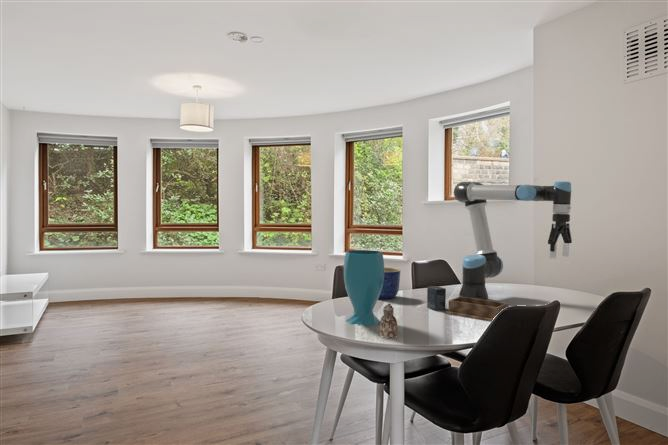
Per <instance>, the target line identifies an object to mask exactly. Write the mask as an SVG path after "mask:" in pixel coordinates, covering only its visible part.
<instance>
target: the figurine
mask: <svg viewBox="0 0 668 445" xmlns="http://www.w3.org/2000/svg"><path fill="white" fill-rule="evenodd" d="M394 310H395V309H394V307H393V305H392V304H391V303H388V304H386V305H385V306H384V307H383V311H382V312H383V315H382V317H381V318H380V320H379V321H380V323H379V330H378V335H381V336H383V337H396V336H397V337H398V334H399V329H398V321H397V318H396V316H394ZM381 336H380V337H381ZM383 337H382V338H383ZM397 337H396V338H397Z"/></svg>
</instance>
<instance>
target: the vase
mask: <svg viewBox="0 0 668 445" xmlns="http://www.w3.org/2000/svg"><path fill="white" fill-rule="evenodd" d="M344 254H345V255H344V263H343V281H344V286H345V291H346V294H347V296H348V298H349V301H350V304H351V305H352V308H353V312H352V315H351V317H349V318H348V319H346V320H347V321H348V322H349V323H350V325H354V324H358V325H357V326H360V325H365V326H375V324H376V325H378V324H380V323H379V322H380V321H381V320H380V319H379V318H378V317H377V316H376V315H375V313H374V308H375V306H376V304H377V302H378V300H379V299H380V298H379V296H380V293H381V290H382V286H383V281H384V267H385V262H384V261H385V260H384V255H383V252H381V251H379V250H366V249H365V250H363V249H361V250H359V249H358V250H349V251H345V253H344ZM347 321H346V322H347ZM348 322H347V323H348ZM349 323H348V324H349ZM377 323H378V324H377Z"/></svg>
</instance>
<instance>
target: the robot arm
mask: <svg viewBox="0 0 668 445" xmlns="http://www.w3.org/2000/svg"><path fill="white" fill-rule="evenodd" d="M453 197H454V198H455V200H456V201H458V202H459V203H464V206H465V208H466V210H468V213H469V217H470V218H469V219H470V222H471V227H472V233H473V239H474V243H475V247H476V248H475V249H476V253H475V254H471V255H466V256H464V257H463V259H462V285H461V288H460V291H459V293H458V297H460V296H461V297H468V298H475V299H482V300H489V294H488V291H487V287H486V279H490V278H495V277H497V276H499V275H500V274H501V273H502V272H503V270H504V263H503V260H502V259H501V258H500V257H499V256H498V252H497V251H496V250H495V249H494V247H493V242H492V239H491V233H490V228H489V223H488V217H487V212H486V206H487V204H488V202H487V200H489V201H490V200H491V201H492V200H493V201H522V202H523V201H524V202H552V213H553V214H552V222H555V223H552V224H551V229H550V232H549V237H548V240H547V244H548V245H549V258H550V259H557V247H558V244H557V242H558V240H559V237H560V235H561V237H562V239H563V240H562V241H563V243H562V252H561V254H562V257H567V258H569V256H570V244H572V241H573V239H572V235H571V229H570V226H571V225H570V223H569V222H570V220H571V215H570V214H571V209H572V206H571V203H572V202H571V199H572V198H571V197H572V183H571V182H570V181H555V182H553V185H535V184H534V185H532V184H520V185H519V184H501V185H500V184H494V185H493V184H483V183H481V182H477V181H474V182H473V181H461V182H459V183H458V184H456V185H455V187H454V189H453Z"/></svg>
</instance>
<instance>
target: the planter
mask: <svg viewBox="0 0 668 445" xmlns="http://www.w3.org/2000/svg"><path fill="white" fill-rule="evenodd" d="M400 281H401V269H399V268H395V267H385V266H384V281H383V286H382V290H381V293H380V296H379V298H378V299H381V300H386V299H387V300H389V299H393V298H395V297H396V296H397V295H398V293H399V289H400Z"/></svg>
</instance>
